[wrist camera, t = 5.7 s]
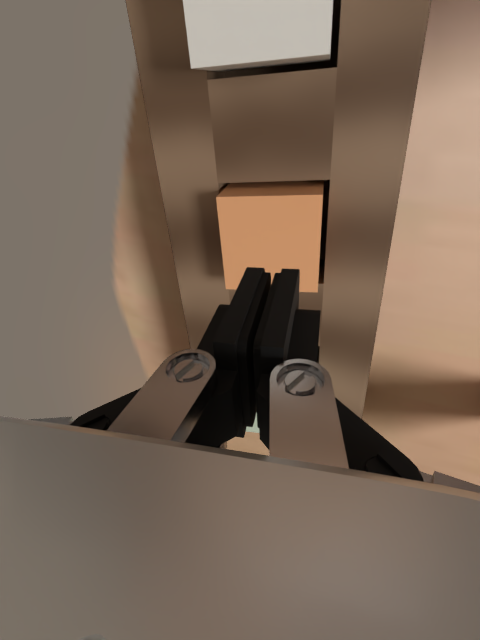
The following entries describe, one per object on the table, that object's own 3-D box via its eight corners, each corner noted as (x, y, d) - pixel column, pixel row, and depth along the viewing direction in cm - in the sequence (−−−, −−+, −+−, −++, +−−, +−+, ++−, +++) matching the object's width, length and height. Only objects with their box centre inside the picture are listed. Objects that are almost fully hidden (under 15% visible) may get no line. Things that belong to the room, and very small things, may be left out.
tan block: (235, 177, 20) (215, 197, 17) (324, 174, 19) (322, 194, 16) (241, 258, 23) (225, 289, 20) (319, 260, 22) (317, 292, 19)
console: (136, -164, 15) (81, -233, 12) (449, -246, 12) (491, -364, 9) (217, 389, 32) (204, 424, 29) (354, 403, 30) (357, 442, 26)
